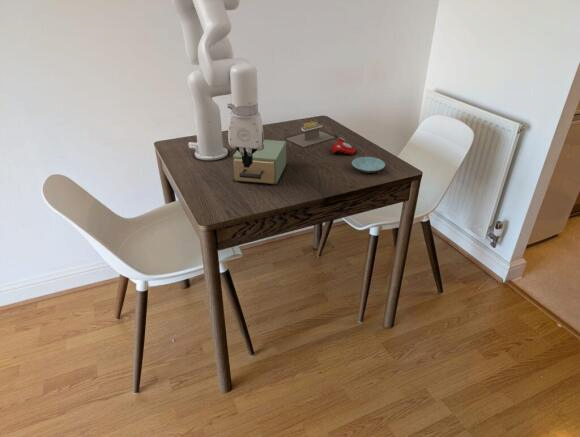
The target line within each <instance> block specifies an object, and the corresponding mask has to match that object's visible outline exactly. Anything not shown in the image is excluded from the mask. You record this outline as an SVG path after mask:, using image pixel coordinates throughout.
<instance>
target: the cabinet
mask: <svg viewBox="0 0 580 437" xmlns="http://www.w3.org/2000/svg"><path fill="white" fill-rule="evenodd" d="M263 145H264V149H263V150H261V151H256V152H255V153H253V154H252V155H253V160H262V161H274V183H265V184H266V185H277V184H278V182H279V180H280V178H281V176H282V173H283V172H284V170H285V168H286V166H287V141H286V140H275V139H274V140H273V139H264V141H263ZM246 151H247V152H248V148H246ZM234 159H242V155H241V154H240V152H239V151H238V150H237V149H236V151H235V152H234V154H233V155H232V164H233V166H234ZM233 176H234V181H235V182H241V181H240V180H235V171H234V170H233ZM242 182H244V183H253V182H252V181H242ZM254 183H256V184H264V183H263V182H254Z"/></svg>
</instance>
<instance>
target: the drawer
mask: <svg viewBox="0 0 580 437" xmlns="http://www.w3.org/2000/svg"><path fill="white" fill-rule="evenodd" d="M234 171H235V178H234V181H235V180H240V181H239V182H243V181H252V182H251V183H255V182H263V183H262V184H266V183H274V161H271V162H268V161H255V160H253V163H252V164H251V165H250V167H249V168H247V167H246V168H245V167H244V164H242V159H234V165H233V172H234Z"/></svg>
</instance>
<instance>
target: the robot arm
mask: <svg viewBox="0 0 580 437" xmlns="http://www.w3.org/2000/svg"><path fill="white" fill-rule="evenodd" d="M170 1H171V4H172V7H173V9H174V12H175V13H176V16H177V17H178V20H179V23H180V27H181V31H182V32H181V33H182V37H183V43H184V48H185V52H186V57H187V60H188V62H189V64H190V65H193V66H196V67H197V66H199V67H200V69H197V70H194V71H192V72H190V73H189V74H188V76H187V81H186V82H187V87H188V91H189V94H190V98H191V103H192V110H193V117H194V126H195V133H196V134H195V135H196V142H194V141H193V142H192V141H189V142H188V143H187V146H188V149H189V150H195V151H194V157H195V158H196V159H198V160H201V161H218V160H221V159H223V158H225V157H227V156H228V153H229V151H228V149H227V148H226V147H224V140H223V139H224V138H223V129H222V117H221V108H220V107H219V105H218V104H217V102H216V101H215V100H213V98H216V97H221V96H228V95H231V102H230V103H227V105H226V106H227V109H230V110H231V112H230V113H229V116H228V128H227V129H228V130H227V131H228V132H227V139H228V140H227V141H228V145H229V148H232V149H234V150H235V149H236V151H237V150H238V151H239V152H240V154H241V155H242V164H244V167H245V168H246V167H247V168H249V167H250V165H251V164H252V163H253V155H252V154H253V153H255V152H256V151H261V150H263V149H264V145H263V141H264V140H265V139H264V138H265V135H264V126H263V120H262V116H261V113H260V112H259V97H258V96H259V93H258V91H259V90H258V89H259V88H258V70H257V67H256V66H255V65H254V64H251V63H250V61H249V60H248V59H247V58H244V57H235V58H234V50H233V47H232V44H231V41H230V39H229V38H228V35H229V34H230V33H231V32H232V23H231V20H230V17H229V15H228V12H227V11H234V10H236V9H238V7H239V5H240V0H170ZM246 148H248V152H247V151H246Z"/></svg>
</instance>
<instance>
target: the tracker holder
mask: <svg viewBox="0 0 580 437" xmlns="http://www.w3.org/2000/svg"><path fill="white" fill-rule="evenodd" d="M330 151H331V152H332V153H333V154H336V153H339V152H340V153H344V154H347V155H354V154H355V153H356V148H355V147H354V146H353V145H352V144H351V143H348V142H346V140H345V138H343V137H340V136H338V141H336V142H335V143H334V144H333V146H332V148H331V149H330Z"/></svg>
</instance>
